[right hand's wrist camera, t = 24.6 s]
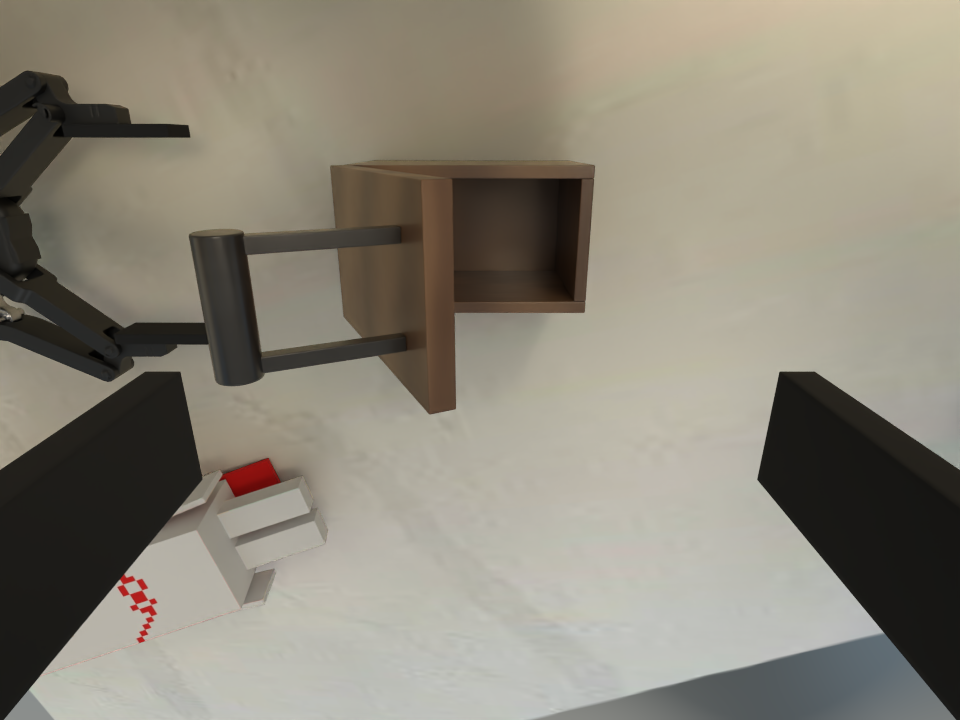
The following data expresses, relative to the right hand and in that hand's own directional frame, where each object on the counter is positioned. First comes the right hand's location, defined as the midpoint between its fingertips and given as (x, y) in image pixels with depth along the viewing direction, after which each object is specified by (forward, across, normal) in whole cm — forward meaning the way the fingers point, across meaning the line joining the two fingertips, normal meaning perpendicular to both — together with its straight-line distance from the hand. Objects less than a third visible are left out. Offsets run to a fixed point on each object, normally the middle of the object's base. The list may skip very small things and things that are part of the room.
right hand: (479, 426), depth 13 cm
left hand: (+28, -19, 0) cm, 34 cm away
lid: (+18, -4, 0) cm, 18 cm away
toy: (+36, -30, -30) cm, 56 cm away
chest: (+36, -1, 0) cm, 36 cm away
